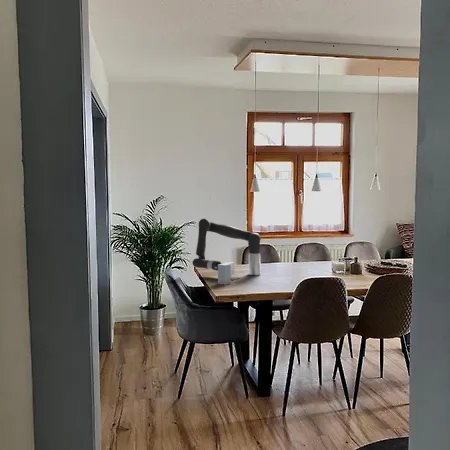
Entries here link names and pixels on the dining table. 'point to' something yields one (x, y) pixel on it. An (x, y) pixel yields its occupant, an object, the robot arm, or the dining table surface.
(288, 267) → the dining table surface
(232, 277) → the mat
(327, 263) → the dining table surface
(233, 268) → the lid
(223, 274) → the grey piece
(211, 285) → the dining table surface
